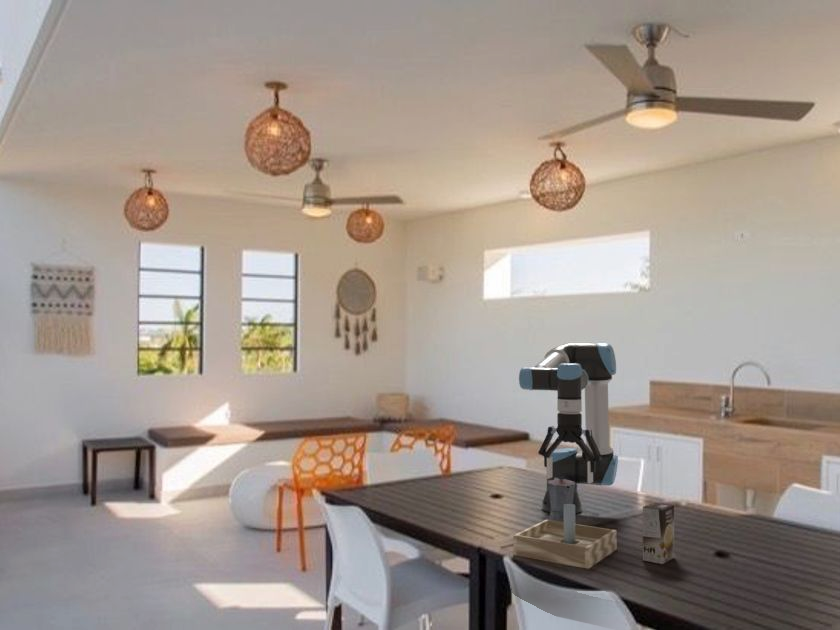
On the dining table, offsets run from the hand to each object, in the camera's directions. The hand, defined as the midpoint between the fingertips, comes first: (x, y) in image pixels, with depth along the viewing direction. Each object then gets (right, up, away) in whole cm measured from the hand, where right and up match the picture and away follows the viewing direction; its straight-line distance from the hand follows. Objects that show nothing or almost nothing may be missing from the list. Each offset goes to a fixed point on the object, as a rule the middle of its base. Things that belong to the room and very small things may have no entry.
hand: (569, 480), depth 238 cm
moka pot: (+1, -22, +20) cm, 30 cm away
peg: (0, -22, -1) cm, 22 cm away
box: (-2, -22, -3) cm, 22 cm away
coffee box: (+25, -22, -10) cm, 35 cm away
